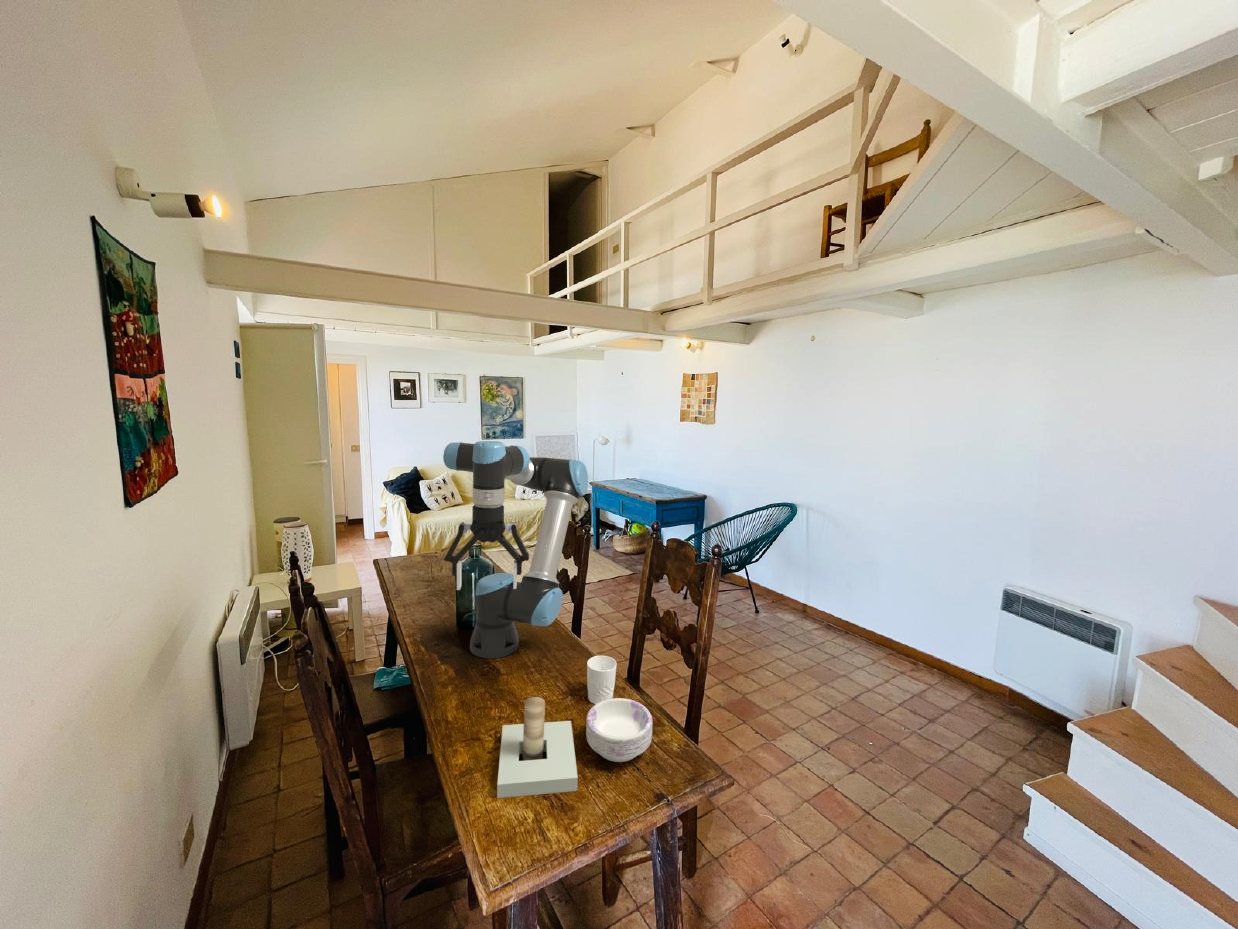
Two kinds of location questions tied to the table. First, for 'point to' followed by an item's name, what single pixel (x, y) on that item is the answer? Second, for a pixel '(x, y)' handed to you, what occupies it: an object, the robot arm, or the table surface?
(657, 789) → the table surface
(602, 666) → the white cup
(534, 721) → the maple dowel
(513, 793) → the socket board
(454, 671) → the table surface
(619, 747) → the paper bowls
